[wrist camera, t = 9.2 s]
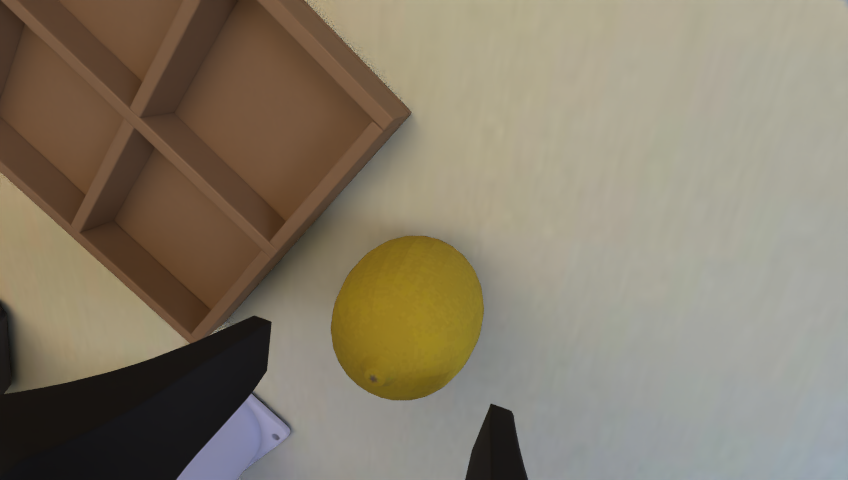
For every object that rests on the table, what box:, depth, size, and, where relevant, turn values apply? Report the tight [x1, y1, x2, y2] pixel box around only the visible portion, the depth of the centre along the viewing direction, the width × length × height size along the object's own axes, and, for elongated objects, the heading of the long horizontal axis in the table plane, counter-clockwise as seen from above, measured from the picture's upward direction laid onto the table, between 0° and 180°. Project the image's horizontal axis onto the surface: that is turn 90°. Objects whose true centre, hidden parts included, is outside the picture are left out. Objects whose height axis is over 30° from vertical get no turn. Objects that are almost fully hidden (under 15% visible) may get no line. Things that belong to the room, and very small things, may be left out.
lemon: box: [331, 236, 484, 400], centre depth 17 cm, size 6×6×8 cm
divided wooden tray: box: [0, 0, 411, 344], centre depth 20 cm, size 17×17×2 cm
